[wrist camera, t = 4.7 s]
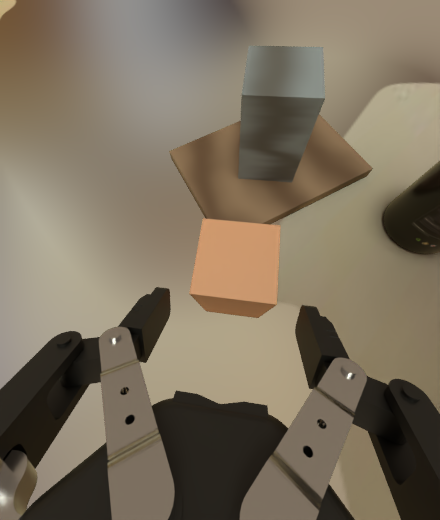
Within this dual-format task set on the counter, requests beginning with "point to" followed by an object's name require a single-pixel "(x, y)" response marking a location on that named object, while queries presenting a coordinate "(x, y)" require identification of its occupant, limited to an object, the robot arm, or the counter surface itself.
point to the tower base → (265, 196)
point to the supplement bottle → (417, 214)
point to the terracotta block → (236, 267)
